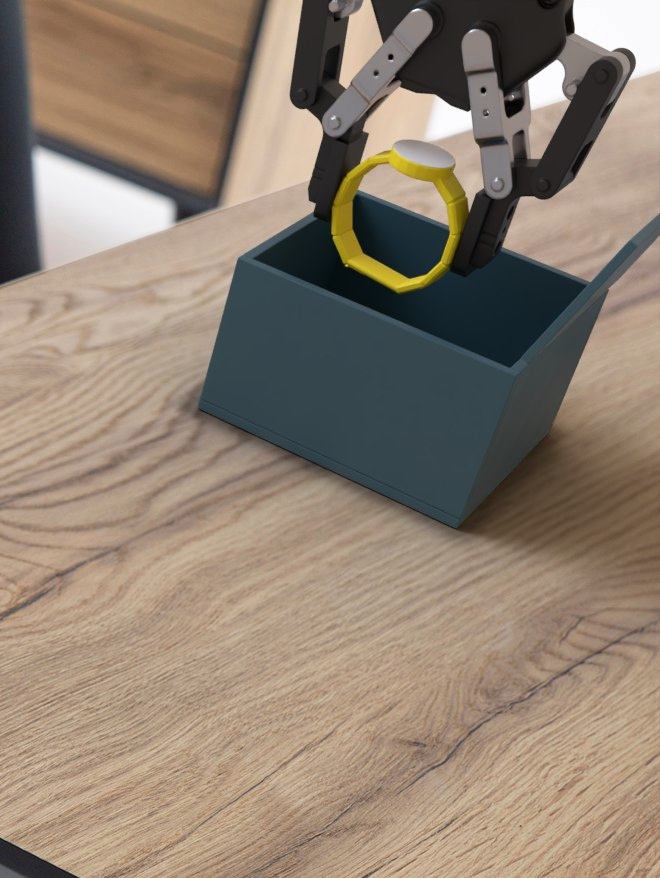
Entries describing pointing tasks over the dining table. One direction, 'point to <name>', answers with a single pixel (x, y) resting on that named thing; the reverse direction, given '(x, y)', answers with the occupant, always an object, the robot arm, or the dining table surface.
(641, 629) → the dining table surface
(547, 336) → the flap
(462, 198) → the watch
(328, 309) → the carton
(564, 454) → the dining table surface
